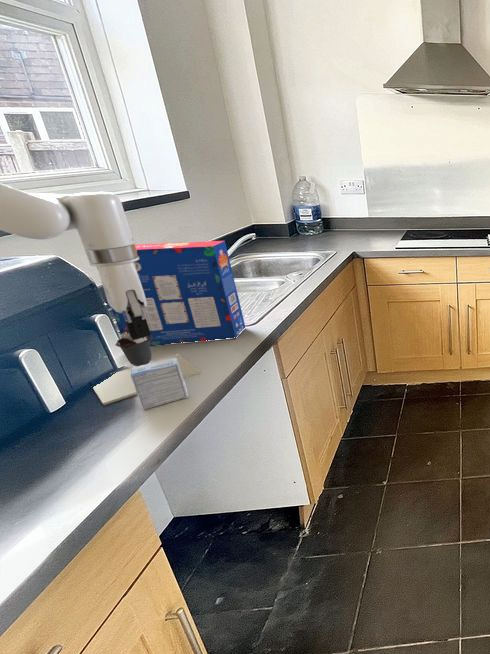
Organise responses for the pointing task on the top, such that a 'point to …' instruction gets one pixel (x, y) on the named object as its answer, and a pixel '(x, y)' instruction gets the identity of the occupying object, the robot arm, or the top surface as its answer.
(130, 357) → the sundae
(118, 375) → the mat
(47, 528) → the top surface
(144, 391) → the medicine box
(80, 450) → the top surface
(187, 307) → the pasta box
